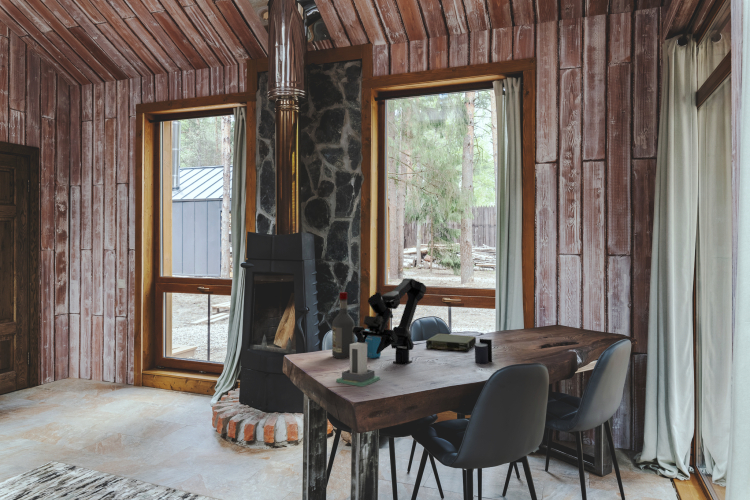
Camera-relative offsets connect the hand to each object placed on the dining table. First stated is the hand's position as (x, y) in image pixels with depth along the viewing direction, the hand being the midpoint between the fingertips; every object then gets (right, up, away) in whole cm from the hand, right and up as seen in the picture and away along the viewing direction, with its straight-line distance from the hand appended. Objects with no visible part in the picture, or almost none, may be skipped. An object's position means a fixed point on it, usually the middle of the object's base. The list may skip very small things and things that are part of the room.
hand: (367, 352), depth 193 cm
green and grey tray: (-3, -10, -5) cm, 12 cm away
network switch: (+43, -10, +60) cm, 75 cm away
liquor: (-12, -10, +37) cm, 40 cm away
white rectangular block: (-3, -9, -5) cm, 11 cm away
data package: (0, -10, +38) cm, 39 cm away
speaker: (+51, -10, +24) cm, 58 cm away
